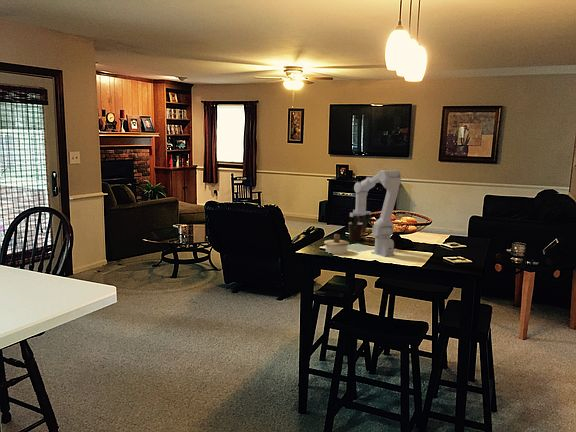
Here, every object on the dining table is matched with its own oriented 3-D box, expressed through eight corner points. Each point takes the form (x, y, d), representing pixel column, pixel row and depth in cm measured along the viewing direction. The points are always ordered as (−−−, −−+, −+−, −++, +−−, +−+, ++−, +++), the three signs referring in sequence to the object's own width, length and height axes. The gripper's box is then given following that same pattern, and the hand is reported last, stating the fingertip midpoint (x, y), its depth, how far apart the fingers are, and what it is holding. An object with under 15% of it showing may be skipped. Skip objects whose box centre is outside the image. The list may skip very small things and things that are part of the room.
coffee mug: (357, 242, 285) (358, 225, 283) (344, 240, 290) (345, 223, 289) (367, 239, 294) (368, 222, 293) (354, 237, 299) (355, 220, 298)
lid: (354, 244, 256) (354, 235, 256) (336, 247, 248) (336, 238, 248) (337, 240, 267) (337, 231, 266) (319, 242, 259) (319, 233, 258)
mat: (377, 248, 268) (377, 248, 268) (358, 252, 259) (358, 251, 259) (357, 243, 280) (357, 243, 280) (338, 247, 270) (338, 246, 270)
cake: (366, 235, 306) (368, 206, 303) (352, 235, 305) (353, 206, 302) (361, 232, 317) (363, 204, 314) (347, 232, 315) (348, 204, 313)
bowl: (351, 252, 257) (351, 244, 256) (335, 255, 250) (336, 246, 250) (336, 248, 266) (337, 240, 265) (321, 251, 259) (321, 243, 258)
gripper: (364, 202, 278) (363, 226, 280) (346, 204, 269) (345, 228, 271) (374, 204, 272) (372, 228, 274) (355, 205, 264) (354, 230, 266)
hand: (359, 228), depth 272 cm, fingers open, 7 cm apart
